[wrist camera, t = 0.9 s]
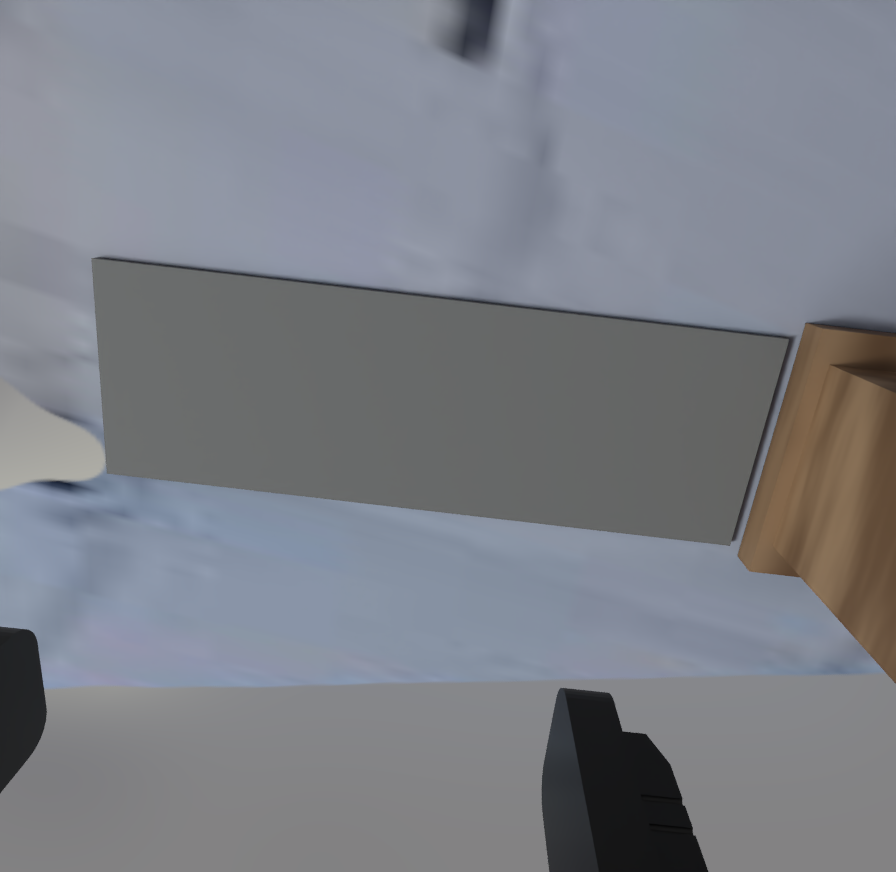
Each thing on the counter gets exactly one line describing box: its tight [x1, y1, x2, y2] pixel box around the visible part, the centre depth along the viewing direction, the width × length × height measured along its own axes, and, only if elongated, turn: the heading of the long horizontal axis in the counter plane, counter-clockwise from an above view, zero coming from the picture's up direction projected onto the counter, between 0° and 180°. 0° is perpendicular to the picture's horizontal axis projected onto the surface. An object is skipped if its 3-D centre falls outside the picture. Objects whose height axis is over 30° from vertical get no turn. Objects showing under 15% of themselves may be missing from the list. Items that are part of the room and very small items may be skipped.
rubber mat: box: [92, 258, 789, 546], centre depth 41 cm, size 42×14×1 cm, turn 84°
